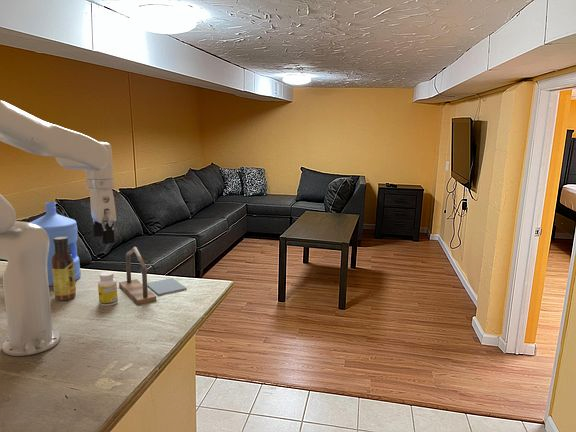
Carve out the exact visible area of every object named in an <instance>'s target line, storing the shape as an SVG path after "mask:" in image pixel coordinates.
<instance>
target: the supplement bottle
mask: <svg viewBox="0 0 576 432" xmlns="http://www.w3.org/2000/svg"><path fill="white" fill-rule="evenodd" d="M114 277H115V275H114V272H113V271H103V272H100V273H99V281H98V282H97V291H98V303H99V305H100V306H102V307H109V306H114V305H116V304H117V303H118V301H119V300H118V297H119V296H118V286H117V285H118V283H117V280H116V279H115V278H114Z"/></svg>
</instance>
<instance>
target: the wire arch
mask: <svg viewBox="0 0 576 432" xmlns="http://www.w3.org/2000/svg"><path fill="white" fill-rule="evenodd" d="M133 253H135V255H136V258H137V260H138V262H139V264H140V265H141V276H142V277H141V279H142V282H141V281H139V280H138V279H136V278H134V279H132V272H131V271H132V270H131V267H132V266H131V255H132V254H133ZM125 269H126V271H125V272H126V280H125V281H120V282H118V286H119V288H120V289H121V290H122V291H123V292H124V293H125V294H126V295H127V296H128V297H129V298H130V299H131V300H132V301H134V303H136V304H137V305H138V306H139V305H142V304H143V305H144V304H148V303H152V302H156V301H157V294H155V293H154V292H153V291H152V290H151V289H150V288H148V287H147V283H148V274H147V273H148V272H147V271H148V270H147V265H146V263H145V261H144V259H143V258H142V255H141V253H140V251H139V249H138V247H136V246H133V247H132V248H131V249H130V250H129V251H127V252H126V253H125Z"/></svg>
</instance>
